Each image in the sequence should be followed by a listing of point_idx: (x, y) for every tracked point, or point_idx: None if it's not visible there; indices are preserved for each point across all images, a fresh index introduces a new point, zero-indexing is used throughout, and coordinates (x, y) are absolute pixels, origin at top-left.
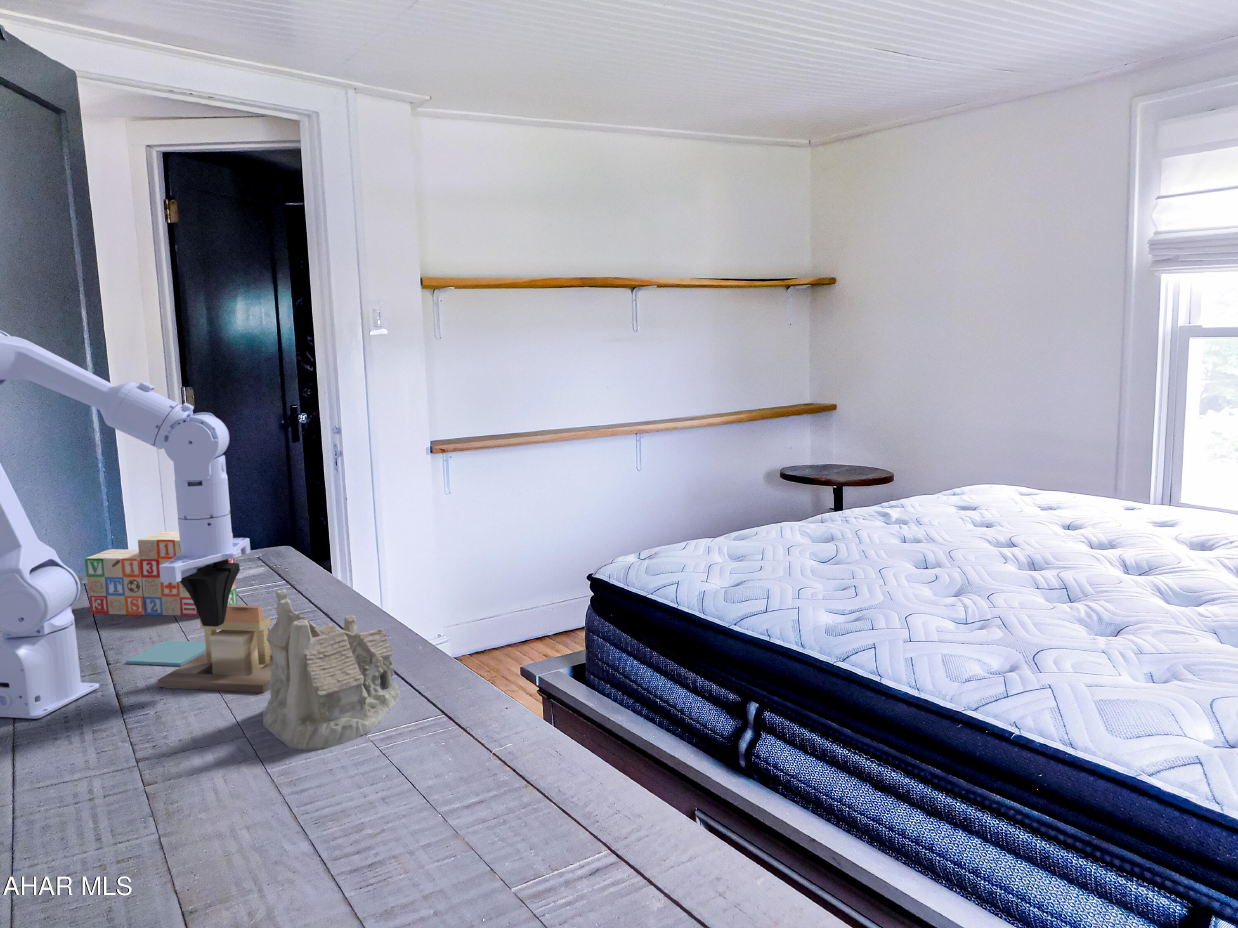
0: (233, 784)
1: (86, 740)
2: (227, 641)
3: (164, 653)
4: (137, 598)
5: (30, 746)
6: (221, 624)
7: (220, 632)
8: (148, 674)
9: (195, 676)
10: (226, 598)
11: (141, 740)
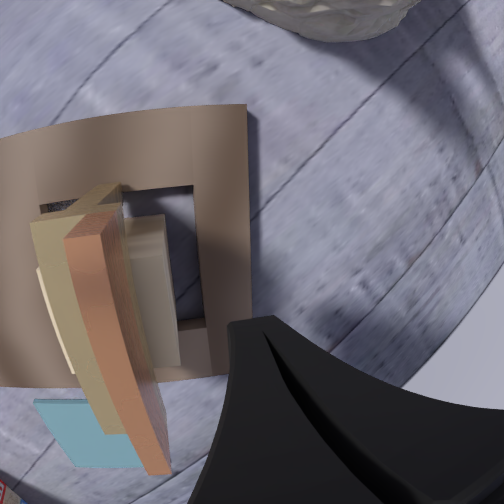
0: (495, 28)
1: (435, 289)
2: (170, 303)
3: (117, 444)
4: None
5: (438, 336)
6: (247, 319)
7: None
8: (195, 414)
9: (222, 315)
10: (258, 387)
11: (442, 211)
